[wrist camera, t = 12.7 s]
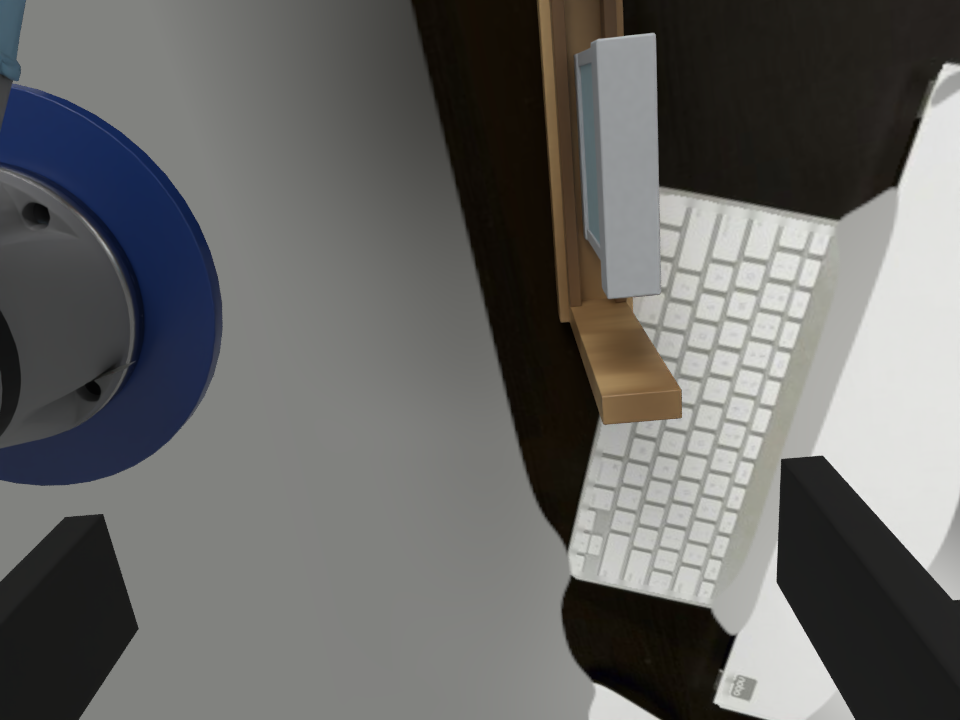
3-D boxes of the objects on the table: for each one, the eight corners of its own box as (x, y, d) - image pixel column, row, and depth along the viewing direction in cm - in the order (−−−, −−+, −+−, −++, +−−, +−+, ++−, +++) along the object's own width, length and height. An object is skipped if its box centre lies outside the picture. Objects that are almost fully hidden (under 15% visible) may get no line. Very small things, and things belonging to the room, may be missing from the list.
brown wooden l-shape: (558, 315, 43) (589, 426, 29) (527, -140, 35) (549, -293, 21) (628, 308, 43) (695, 417, 28) (612, -150, 35) (692, -313, 21)
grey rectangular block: (573, 237, 40) (607, 300, 28) (563, 55, 37) (595, 39, 25) (611, 234, 40) (661, 295, 28) (604, 51, 37) (656, 32, 25)
